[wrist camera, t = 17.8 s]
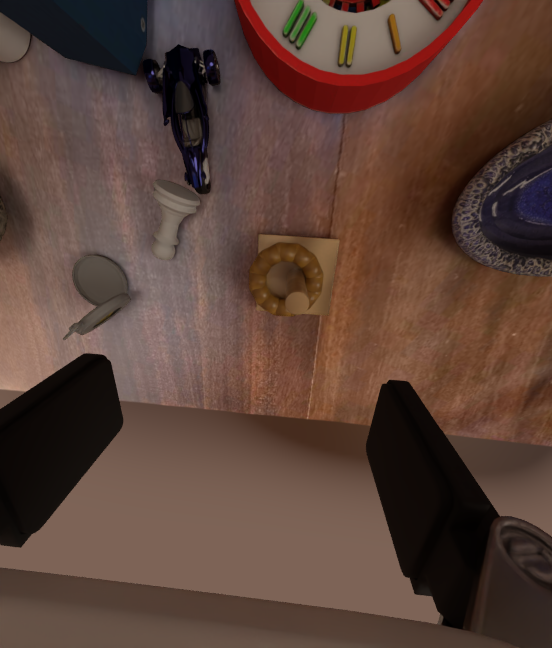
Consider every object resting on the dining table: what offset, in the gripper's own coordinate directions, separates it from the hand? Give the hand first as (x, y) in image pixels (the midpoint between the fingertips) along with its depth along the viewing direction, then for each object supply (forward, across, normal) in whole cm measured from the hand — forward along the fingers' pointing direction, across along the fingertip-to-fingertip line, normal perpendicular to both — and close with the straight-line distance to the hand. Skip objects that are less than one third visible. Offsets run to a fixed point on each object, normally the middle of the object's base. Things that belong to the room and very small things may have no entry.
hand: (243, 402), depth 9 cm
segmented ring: (+22, -1, +1) cm, 22 cm away
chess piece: (+22, +11, -8) cm, 26 cm away
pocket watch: (+24, +22, +4) cm, 33 cm away
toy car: (+25, +9, -13) cm, 30 cm away
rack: (+24, -2, +1) cm, 25 cm away
